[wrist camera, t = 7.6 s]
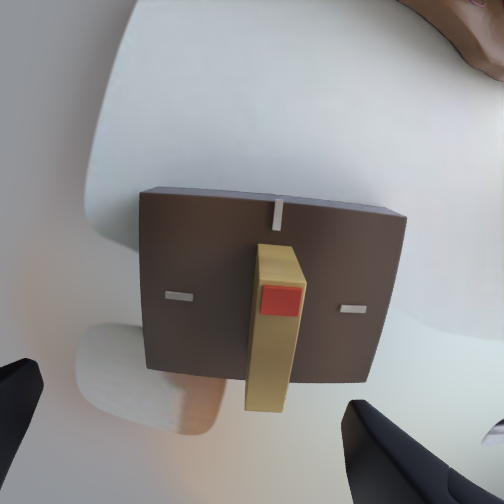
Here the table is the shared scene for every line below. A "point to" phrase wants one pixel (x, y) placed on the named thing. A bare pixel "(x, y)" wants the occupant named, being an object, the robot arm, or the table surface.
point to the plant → (469, 29)
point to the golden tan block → (273, 327)
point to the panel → (242, 279)
